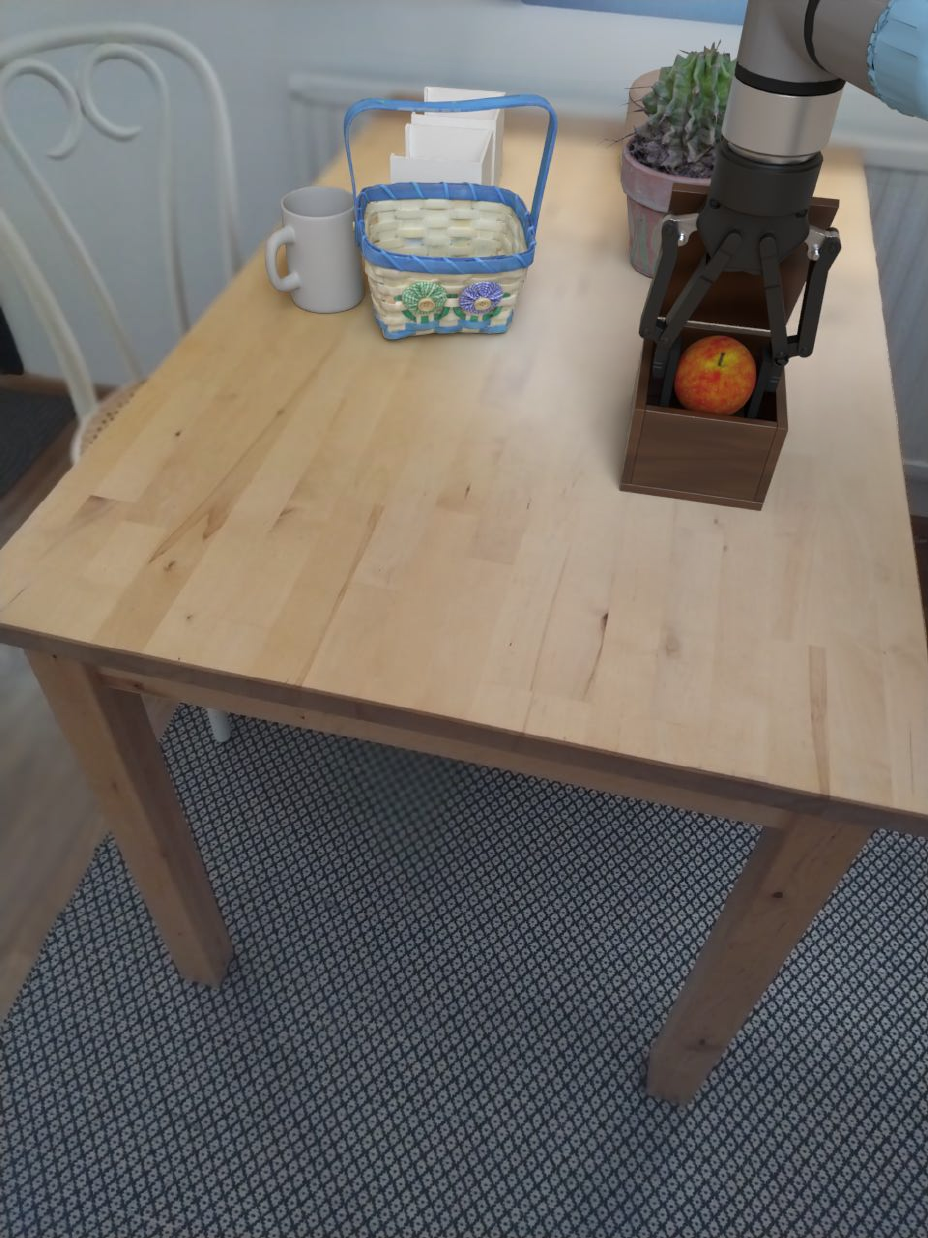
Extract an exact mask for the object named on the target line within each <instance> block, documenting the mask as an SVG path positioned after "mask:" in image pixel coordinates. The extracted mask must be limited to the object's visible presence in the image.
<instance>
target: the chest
mask: <svg viewBox="0 0 928 1238" xmlns="http://www.w3.org/2000/svg"><path fill="white" fill-rule="evenodd" d="M658 319H659V320H661V321H664V319H665V318H658ZM679 335H680V336H681V343H680V353H679V358H678V360H679V359H680V357H681V356H682V354H683V353H684V352H685V351H686V350H687V348H689V347H690V346H691V345H692V344H694V343H695V342H697V341H699V340H701V339H703V338H706V337H710V336H727V337H730V338H733V339H735V340H737V341H739V342H740V343H741V344H743V345H744V346H745V347H746V348H747V349H748V351H749V352H750V353H751V355H752V357H753V359H754V362H755V365H756V366H757V362H758V359H759V355H760V352H761V348H762V345H763V346H771V348H772V342H771V334H770V331H768V330H760V329H751V328H743V327H735V326H726V325H718V324H710V323H701V322H693V321H687V323H686V324H685V326H684V327H683V329H682V331H681V332H680V334H679ZM656 347H657V344H656V342H655V341H653V340H652V339H650V338H648V339H643V338H642V342H641V348H640V353H639V358H638V364H637V369H636V374H635V380H634V387H633V391H632V398H631V403H630V404H631V405H630V411H629V412H630V413H629V419H628V425H627V426H628V427H627V434H626V440H625V448H624V455H623V463H622V469H621V475H620V477H621V478H620V483H619V484H620V485H619V492H620V491H621V492H626V493H635V494H641V495H647V496H655V497H660V498H661V497H662V498H670V499H676V500H682V501H683V500H684V501H690V502H698V503H702V504H703V503H704V504H712V505H718V506H724V507H725V506H726V507H731V508H739V509H745V510H754V511H762V510H763V506H764V503H765V501H766V498H767V495H768V492H769V488H770V485H771V482H772V480H773V477H774V475H775V470H776V467H777V465H778V462H779V458H780V455H781V454H782V449H783V448H784V447H783V446H784V444H785V442H786V438H787V434H788V432H789V419H788V416H789V415H788V401H787V384H786V371H785V370H786V369H785V367H784V368H783V372H782V375H781V378H780V381H779V385H778V388H777V389H776V390H775V391H774V392H766V391H764V392H763V395H762V399H761V402H760V405H759V409H758V412H757V415H756V419H750V418H744V408H745V405H746V403H745V404H744V406H743V407H742V408H740V409H739V410H738V411H737V412H735V413H733V414H732V415H729V416H727V415H719V414H712V413H704V412H696V411H689V410H686V409H685V408H684V407H683V406H682V405H681V403H680V402H679V400H678V398H677V396H676V394H675V390H674V383H673V386H672V390H671V395H670V400H669V404H668V408H666V407H658V406H659V397H660V393H661V388H662V383H663V379H661V378H654V377H653V373H652V371H653V363H654V358H655V352H656ZM677 363H678V362H677Z"/></svg>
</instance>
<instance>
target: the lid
mask: <svg viewBox="0 0 928 1238" xmlns="http://www.w3.org/2000/svg"><path fill="white" fill-rule="evenodd" d="M724 138H725V137H724V136H723V134H722V130H721V135H720V142H721V141H722V140H723V139H724ZM709 187H710V186H703V185H694V184H684V183H673V185H672V191H671V196H670V201H669V206H668V211H675V212H676V213H677V214H678V215H686V214H694V213H698V210H699V209H700V207H701V206H702V205H703V204H704V202H705V201H706V199H707V196H708V192H709ZM840 203H841V202H840V199H839V198H829V197H822V196H821V197H820V196H813V197H812V200H811V204H810V207H809V211H808V218H809V224H810V225H812V226H815V227H818V228H821V229H823V230H826V229H828V228H830V227H832V224H833V222H834V219H835V218H836V215H837V213H838V211H839V208H840ZM807 245H808V244H807V243H805V242H803V243H802V244H801V245H800V246H799V247H797V248H796V249H795V250H794V251H793V252H792V253H791V254H789V255H788V256H787V257H786V258H785V259H784V260H782V261H781V262H780V263H779V266H780V276H781V285H782V294H783V303H784V312H785V321H786V326H787V325H788V322H789V321H790V318H791V316H792V314H793V311H794V309H795V307H796V305H797V303H798V301H799V299H800V296H801V294H802V292H803V289H804V288H805V285H806V280H807V274H808V268H809V263H810V259H809V258H808V255H807ZM661 249H662V241H661V246H660V252H661ZM706 250H707V249H706V247H705V245H704V243H703V241H702V239H701V237H700V235H699V233H698V230H697V231H694V232H692V233H691V234H690V236H689V239H688V242H687V243H686V244H685V245H683V246H678V253H677V259H676V263H675V266H674V269H673V272H672V275H671V278H670V282H669V285H668V288H667V291H666V294H665V297H664V300H663V303H662V306H661V310H660V313H659V316H658V318H661V319H665V318H666V316H667V315H668V313H669V311H670V310H671V308H672V307H673V305H674V303H675V302H676V300H677V299H678V297H679V296H680V294H681V292H682V291H683V289H684V288H685V286H686V284H687V283H688V281H689V280H690V278H691V276H692V275H693V273H694V272H695V270H696V269H697V267H698V265H699V264H700V262H701V259H702V257H703V255H704V253H705V252H706ZM660 252H659V255H660ZM658 258H659V257H658ZM687 322H695V323H703V324H711V325H720V326H728V327H736V328H745V329H753V330H761V331H770V326H769V318H768V309H767V301H766V293H765V287H764V279H763V273H762V276H761V275H752V274H749V273H747V272H744V271H737V272H725V271H722V272H721V274H720V275H719V277H718V278H717V280H716V281H715V282H714V283H712V285H711V286H710V288H709V289H708V291H707V292H706V294H705V295H704V297H703V298H702V300H701V301H700V303H699V305H698V306H697V308H696V309H695V311H694V312H693V314H692V315H691V317H690V318H689V320H688V321H687Z"/></svg>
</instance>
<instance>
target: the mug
mask: <svg viewBox="0 0 928 1238" xmlns="http://www.w3.org/2000/svg"><path fill="white" fill-rule="evenodd" d="M279 204H280V215H281V216H280V217H281V223H282V227H281V228H279V229H277V230H276V231H274V232H272V234H270V236H269V237H268V238H267V241H266V243H265V248H264V265H265V270H266V271H265V272H266V274H267V275H266V276H267V278H268V281H269V282H270V285H271V286H272V287H273V288H274V289H275V290H276V291H277V292H280V293H288V292H290V297H291V299H292V301H293V303H294V304H295V305H296V306H297V307H298V308H300V309H302V310H304V311H306V312H310V313H316V314H336V313H342V312H345V311H348V310H351V309H353V308H355V307H357V306H358V305H359V304H360V303H361V302H362V300H363V299H364V295H365V284H364V272H363V260H362V259H363V258H362V256H363V255H362V252H361V248H360V245H359V247H357V246H356V242H355V232H354V231H353V226H352V224H353V222H355V212H354V199H353V192H351V191H349V190H347V189H345V188H341V187H338V186H331V185H312V186H304V187H301V188H298V189H294V190H292V191H289V192H288V193H286V194H285V195H284V196H283V197H282V198H281V201H280V203H279ZM283 246H285V254H286V262H287V270H288V271H287V272H288V275H287V276H284V277H280V275H279V272H278V267H277V255H278V251H279V250H280V248H281V247H283Z"/></svg>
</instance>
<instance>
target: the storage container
mask: <svg viewBox="0 0 928 1238" xmlns="http://www.w3.org/2000/svg"><path fill="white" fill-rule="evenodd" d="M506 93H507V92H506V91H495V90H484V89H483V90H481V89H467V88H453V87H439V86H425V87H424V89H423V98H424V100H423V102H443V101H461V100H472V99H482V98H490V97H500V96H506ZM505 110H506V108H500V109H491V110H483V111H472V112H457V113H435V112H423V113H424V114H419V113H417V112H411V114H410V121H411V122H410V123H406V124H405V126H404V133H405V135H404V136H405V156H401V155H396V153H394V152H391V154H390V156H389V170H390V171H389V173H390V184H395V183H409V182H420V183H439V182H445V183H463V182H468V183H475V184H479V185H486V186H496V187H500V183H501V179H502V175H503V174H502V172H503V153H504V132H505V112H506V111H505ZM422 209H423V208H420V210H422ZM471 210H475V209H471ZM394 219H395V220H396V219H398V220H399V218H394ZM478 220H479V219H478Z"/></svg>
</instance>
